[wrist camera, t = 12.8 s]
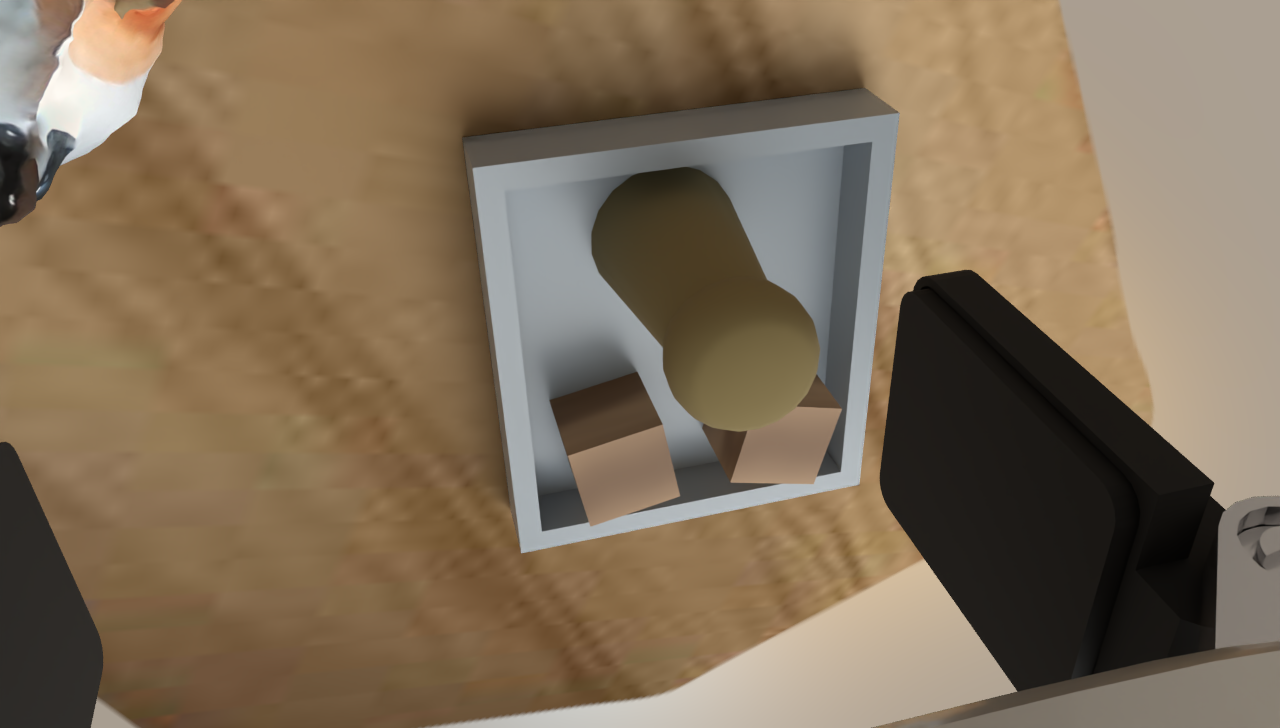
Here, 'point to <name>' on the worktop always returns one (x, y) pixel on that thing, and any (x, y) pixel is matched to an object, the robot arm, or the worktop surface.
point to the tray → (609, 331)
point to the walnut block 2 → (780, 443)
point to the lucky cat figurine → (68, 84)
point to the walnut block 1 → (615, 448)
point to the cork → (705, 299)
